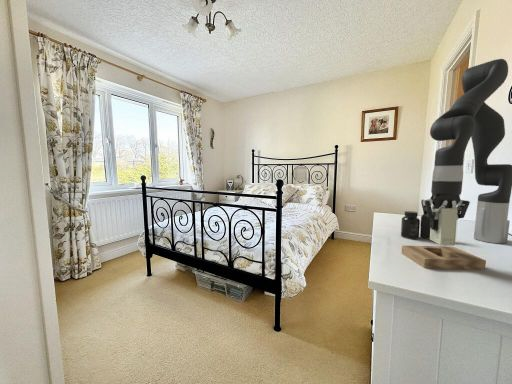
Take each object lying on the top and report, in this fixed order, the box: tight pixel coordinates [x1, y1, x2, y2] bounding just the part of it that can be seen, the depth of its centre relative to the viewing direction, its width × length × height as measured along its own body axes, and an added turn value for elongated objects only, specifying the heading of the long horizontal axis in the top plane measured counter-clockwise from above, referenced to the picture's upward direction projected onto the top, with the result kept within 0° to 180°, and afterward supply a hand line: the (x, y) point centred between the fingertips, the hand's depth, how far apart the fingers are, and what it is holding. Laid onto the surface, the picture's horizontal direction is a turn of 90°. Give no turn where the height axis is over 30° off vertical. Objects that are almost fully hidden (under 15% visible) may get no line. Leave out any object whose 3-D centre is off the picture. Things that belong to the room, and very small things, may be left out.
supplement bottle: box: [400, 210, 421, 240], centre depth 98 cm, size 7×7×12 cm
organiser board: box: [401, 245, 487, 271], centre depth 73 cm, size 18×12×3 cm, turn 86°
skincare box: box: [429, 208, 458, 246], centre depth 72 cm, size 6×4×12 cm
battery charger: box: [419, 213, 430, 240], centre depth 96 cm, size 7×4×11 cm, turn 46°
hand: (442, 229), depth 72 cm, fingers closed on skincare box, 4 cm apart
